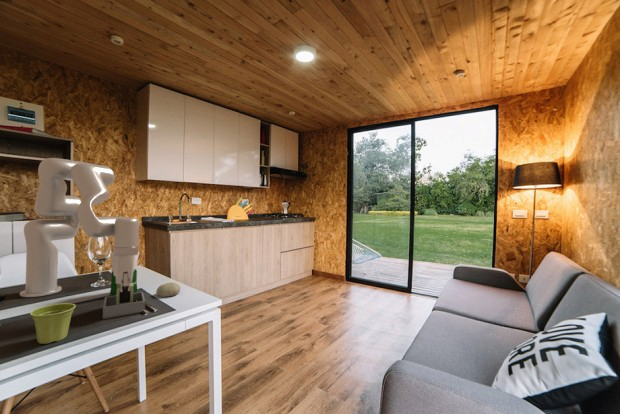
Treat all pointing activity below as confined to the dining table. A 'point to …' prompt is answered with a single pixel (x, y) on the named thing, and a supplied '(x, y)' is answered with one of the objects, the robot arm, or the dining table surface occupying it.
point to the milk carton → (113, 278)
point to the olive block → (120, 291)
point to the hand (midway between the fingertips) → (124, 299)
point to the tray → (123, 306)
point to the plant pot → (52, 322)
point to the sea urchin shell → (168, 289)
